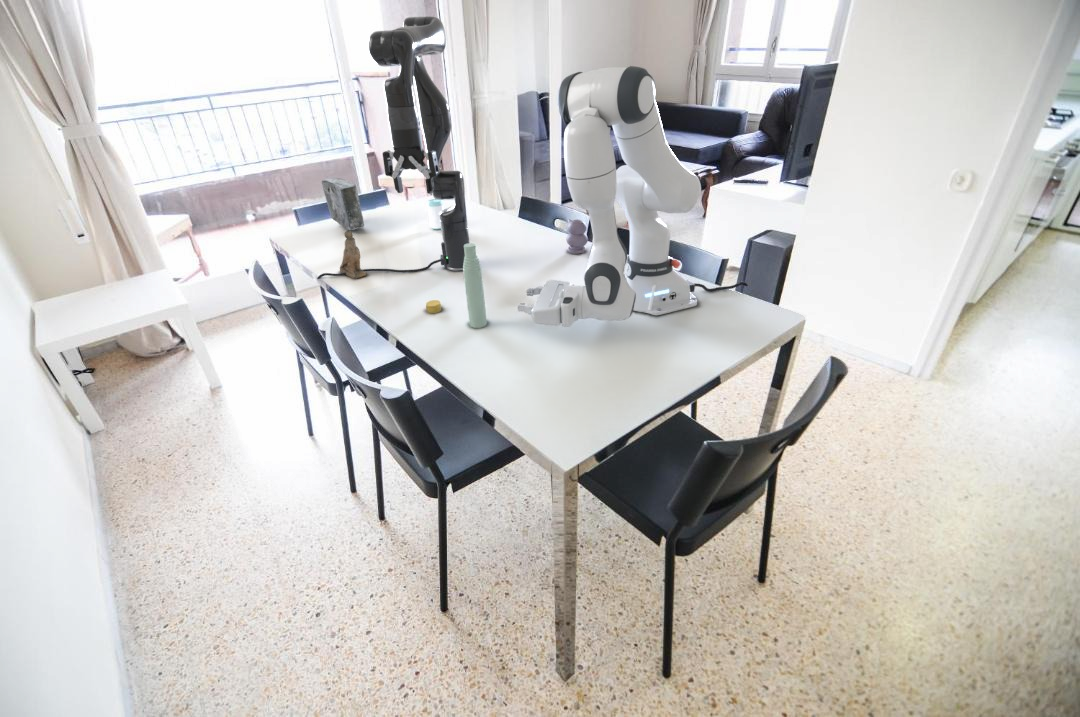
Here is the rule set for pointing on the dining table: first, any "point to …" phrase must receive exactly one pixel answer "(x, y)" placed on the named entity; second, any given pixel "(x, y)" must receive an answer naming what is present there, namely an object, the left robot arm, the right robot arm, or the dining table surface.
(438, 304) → the cap
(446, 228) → the left robot arm
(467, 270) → the bottle
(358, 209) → the concrete block
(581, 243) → the cat figurine
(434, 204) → the white lidded cup
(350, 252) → the brown carved statuette
